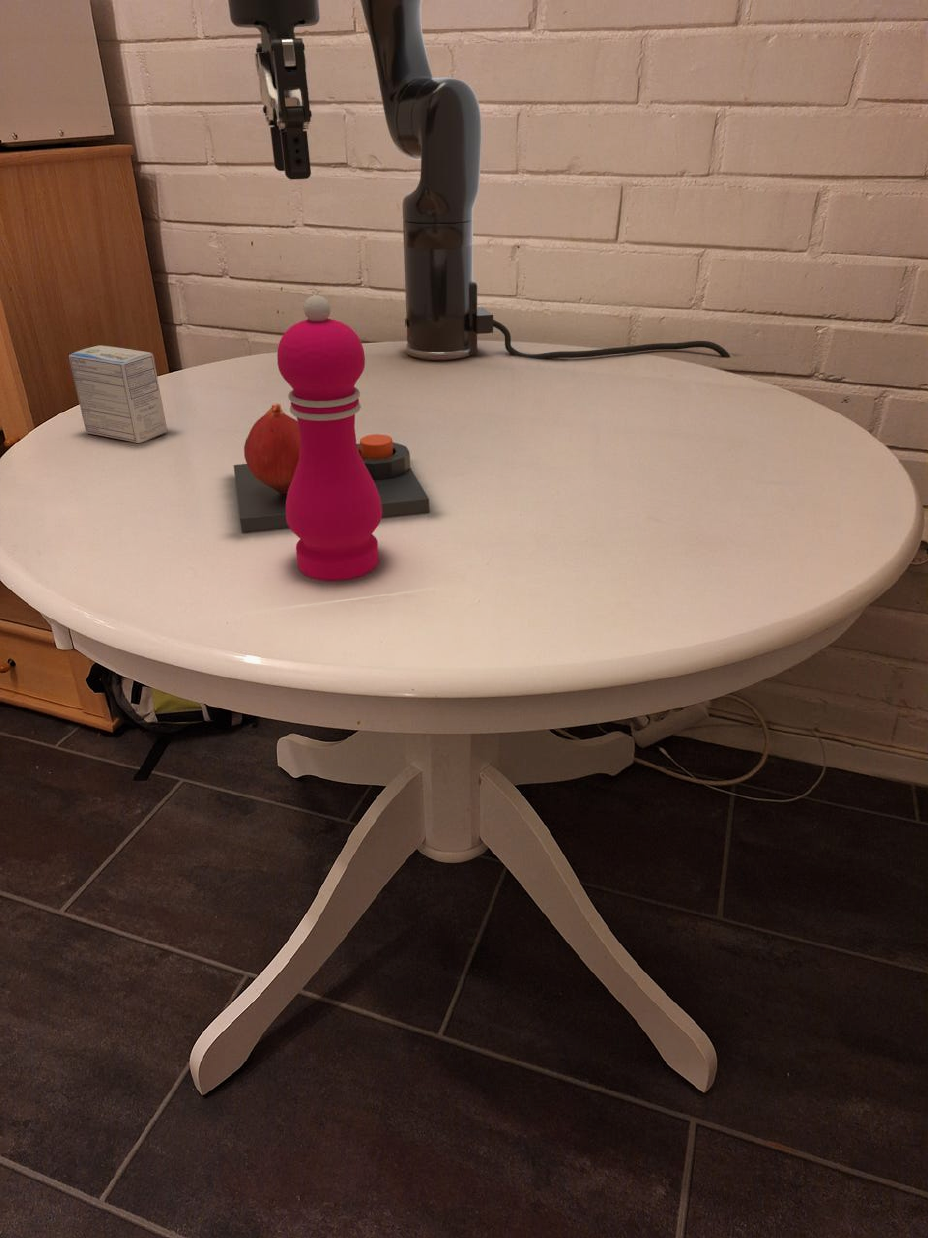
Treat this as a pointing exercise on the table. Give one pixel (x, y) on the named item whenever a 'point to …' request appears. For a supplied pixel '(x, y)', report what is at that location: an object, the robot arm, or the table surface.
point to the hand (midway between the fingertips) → (292, 174)
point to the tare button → (376, 446)
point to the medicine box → (118, 393)
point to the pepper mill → (328, 449)
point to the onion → (273, 449)
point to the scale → (390, 474)
